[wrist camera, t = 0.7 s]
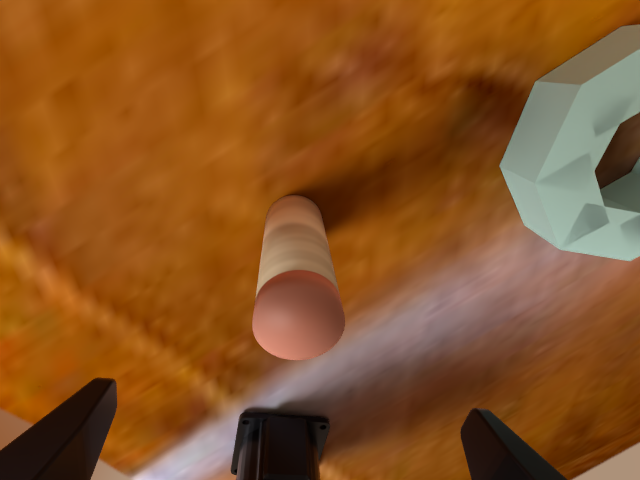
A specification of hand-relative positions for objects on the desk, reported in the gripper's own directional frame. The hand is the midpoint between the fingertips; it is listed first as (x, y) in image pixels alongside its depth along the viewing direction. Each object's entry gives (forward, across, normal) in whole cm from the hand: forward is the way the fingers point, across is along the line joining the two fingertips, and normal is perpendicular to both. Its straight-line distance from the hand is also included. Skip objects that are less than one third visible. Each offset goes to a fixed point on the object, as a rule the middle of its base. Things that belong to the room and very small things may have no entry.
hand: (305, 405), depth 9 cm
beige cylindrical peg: (+12, 0, 0) cm, 12 cm away
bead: (+12, -15, -7) cm, 20 cm away
